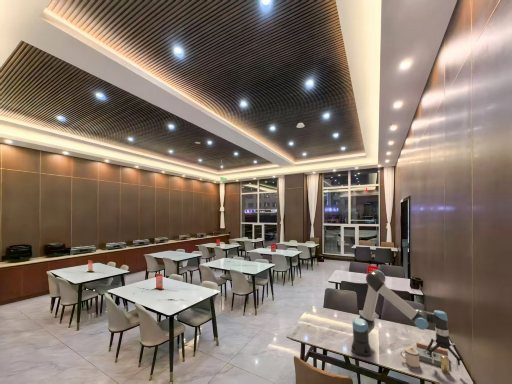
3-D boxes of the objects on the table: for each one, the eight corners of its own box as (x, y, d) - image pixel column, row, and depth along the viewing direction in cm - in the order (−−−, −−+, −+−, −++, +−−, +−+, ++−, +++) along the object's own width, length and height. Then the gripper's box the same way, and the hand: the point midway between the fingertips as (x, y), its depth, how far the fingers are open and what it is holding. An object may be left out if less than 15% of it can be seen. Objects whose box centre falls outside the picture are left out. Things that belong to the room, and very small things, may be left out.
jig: (415, 358, 179) (415, 350, 180) (416, 349, 192) (416, 341, 192) (449, 369, 167) (448, 360, 168) (448, 358, 180) (447, 350, 180)
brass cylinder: (441, 372, 164) (440, 357, 165) (441, 368, 167) (439, 354, 168) (449, 374, 161) (448, 359, 162) (449, 371, 165) (448, 356, 166)
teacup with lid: (420, 362, 174) (418, 346, 175) (420, 369, 167) (419, 352, 168) (401, 357, 181) (400, 341, 182) (400, 363, 173) (399, 346, 175)
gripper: (420, 331, 171) (423, 361, 169) (465, 341, 156) (469, 375, 154) (421, 327, 177) (423, 357, 175) (464, 337, 162) (468, 369, 160)
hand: (445, 365), depth 164 cm, fingers open, 13 cm apart
